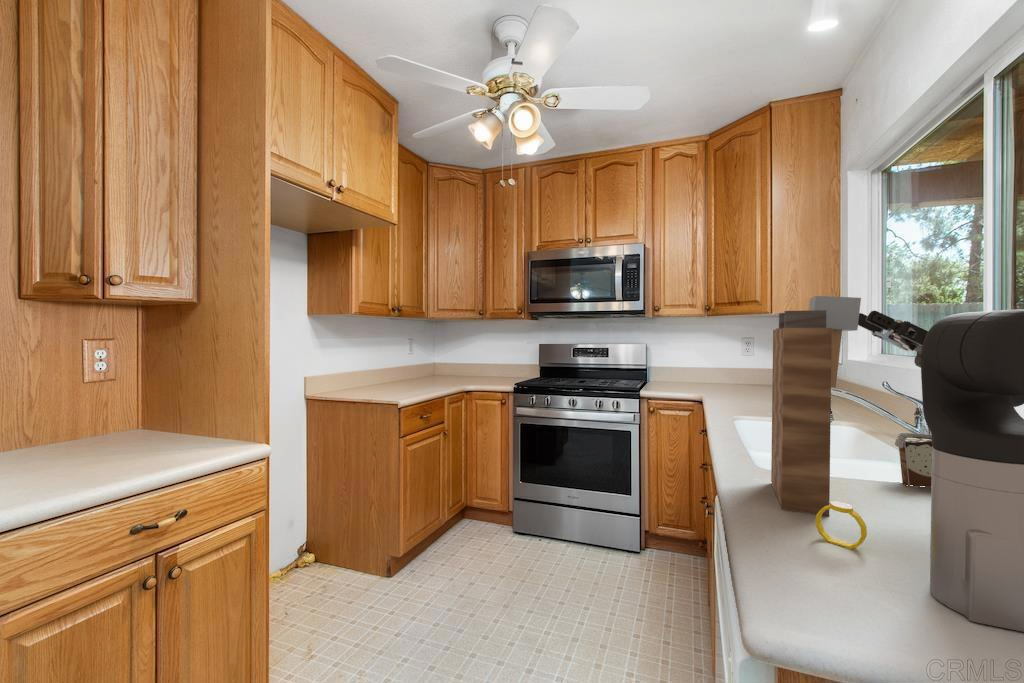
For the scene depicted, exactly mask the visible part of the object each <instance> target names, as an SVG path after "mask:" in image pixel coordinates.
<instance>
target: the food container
mask: <svg viewBox="0 0 1024 683" xmlns="http://www.w3.org/2000/svg"><path fill="white" fill-rule="evenodd" d="M894 445H895V447H898V450H899V452H898V454H899V463H900V472H901V480H902V482H901V483H902V485H904V484H905V485H908V486H910V485H913V486H912V487H911V488H918V487H920V486H925V487H931V480H932V434H930V433H929V434H927V433H912V432H911V433H909V432H908V433H899V434H897V437H896V438H895V443H894ZM905 485H904V486H905Z"/></svg>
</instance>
